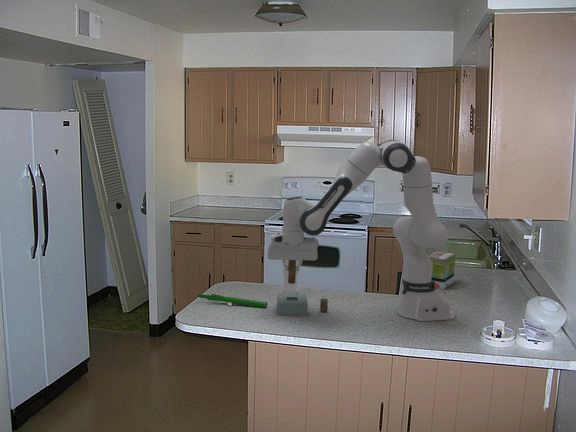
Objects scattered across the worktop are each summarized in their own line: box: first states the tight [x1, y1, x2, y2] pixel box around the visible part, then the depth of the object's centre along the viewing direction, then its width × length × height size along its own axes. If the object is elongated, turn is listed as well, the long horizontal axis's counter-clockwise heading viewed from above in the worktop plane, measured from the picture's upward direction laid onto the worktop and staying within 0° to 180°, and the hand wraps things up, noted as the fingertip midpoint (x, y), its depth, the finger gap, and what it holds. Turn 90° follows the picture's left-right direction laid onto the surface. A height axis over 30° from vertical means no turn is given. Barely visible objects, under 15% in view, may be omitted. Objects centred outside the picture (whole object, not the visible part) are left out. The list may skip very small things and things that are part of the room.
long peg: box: [288, 260, 296, 284], centre depth 245 cm, size 3×3×11 cm
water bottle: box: [281, 260, 300, 294], centre depth 265 cm, size 7×7×25 cm
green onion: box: [197, 293, 268, 309], centre depth 254 cm, size 5×3×30 cm
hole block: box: [276, 293, 309, 316], centre depth 247 cm, size 12×12×5 cm
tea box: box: [427, 250, 456, 290], centre depth 288 cm, size 15×10×15 cm, turn 148°
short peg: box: [319, 297, 329, 313], centre depth 247 cm, size 3×3×5 cm
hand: (292, 270), depth 245 cm, fingers closed on long peg, 3 cm apart
